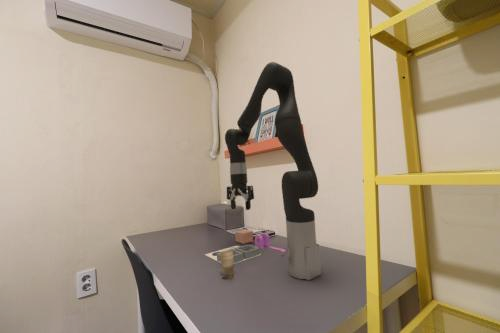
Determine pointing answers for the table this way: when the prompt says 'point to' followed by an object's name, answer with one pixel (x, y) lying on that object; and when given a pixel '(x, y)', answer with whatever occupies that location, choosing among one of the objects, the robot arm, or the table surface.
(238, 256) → the board
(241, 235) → the orange cube
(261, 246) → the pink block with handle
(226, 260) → the peg
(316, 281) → the table surface
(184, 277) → the table surface
